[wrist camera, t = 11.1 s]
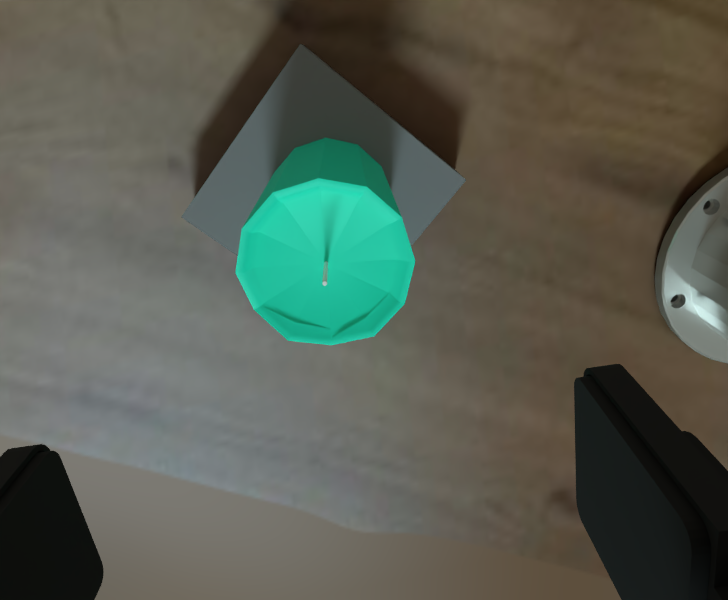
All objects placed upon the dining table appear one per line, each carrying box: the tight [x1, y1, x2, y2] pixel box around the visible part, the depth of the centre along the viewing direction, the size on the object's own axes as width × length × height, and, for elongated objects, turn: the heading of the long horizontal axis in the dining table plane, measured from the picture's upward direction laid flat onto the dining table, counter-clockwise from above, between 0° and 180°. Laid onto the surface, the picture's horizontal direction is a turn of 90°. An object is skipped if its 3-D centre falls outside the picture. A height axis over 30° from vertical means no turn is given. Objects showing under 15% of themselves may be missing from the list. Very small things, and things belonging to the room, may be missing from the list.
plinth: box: [182, 44, 466, 256], centre depth 31 cm, size 10×10×3 cm
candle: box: [235, 138, 415, 345], centre depth 24 cm, size 6×6×12 cm
